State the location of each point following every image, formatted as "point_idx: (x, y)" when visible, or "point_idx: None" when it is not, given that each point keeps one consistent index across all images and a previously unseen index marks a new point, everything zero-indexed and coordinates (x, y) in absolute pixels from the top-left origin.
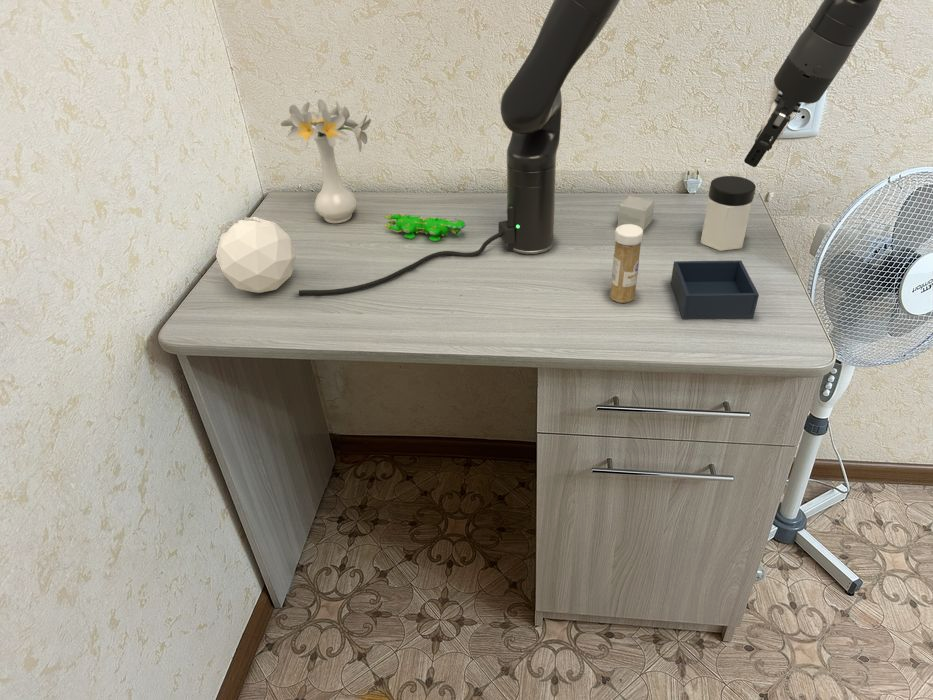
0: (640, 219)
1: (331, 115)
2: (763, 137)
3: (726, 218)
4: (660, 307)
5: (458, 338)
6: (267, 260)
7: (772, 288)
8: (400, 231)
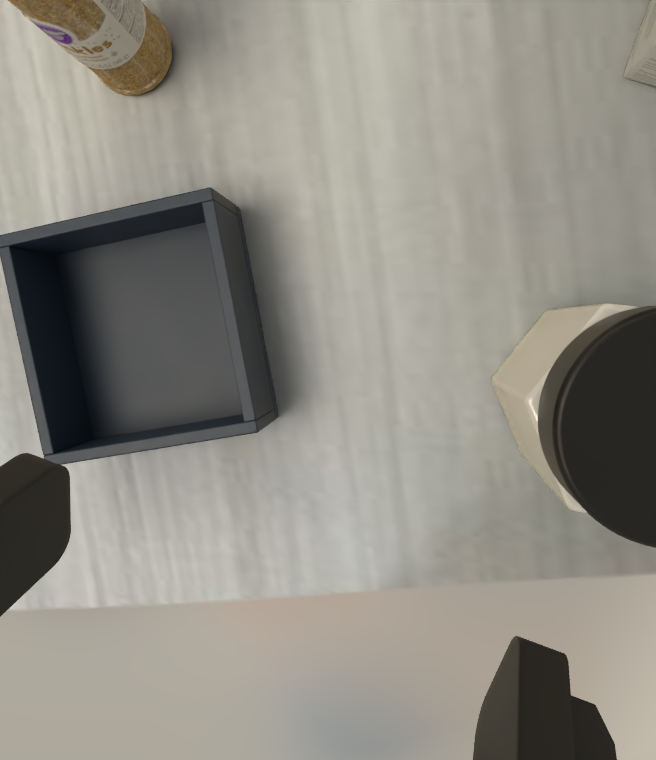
0: (648, 37)
1: None
2: (493, 720)
3: (515, 393)
4: (102, 182)
5: None
6: None
7: (269, 523)
8: None
